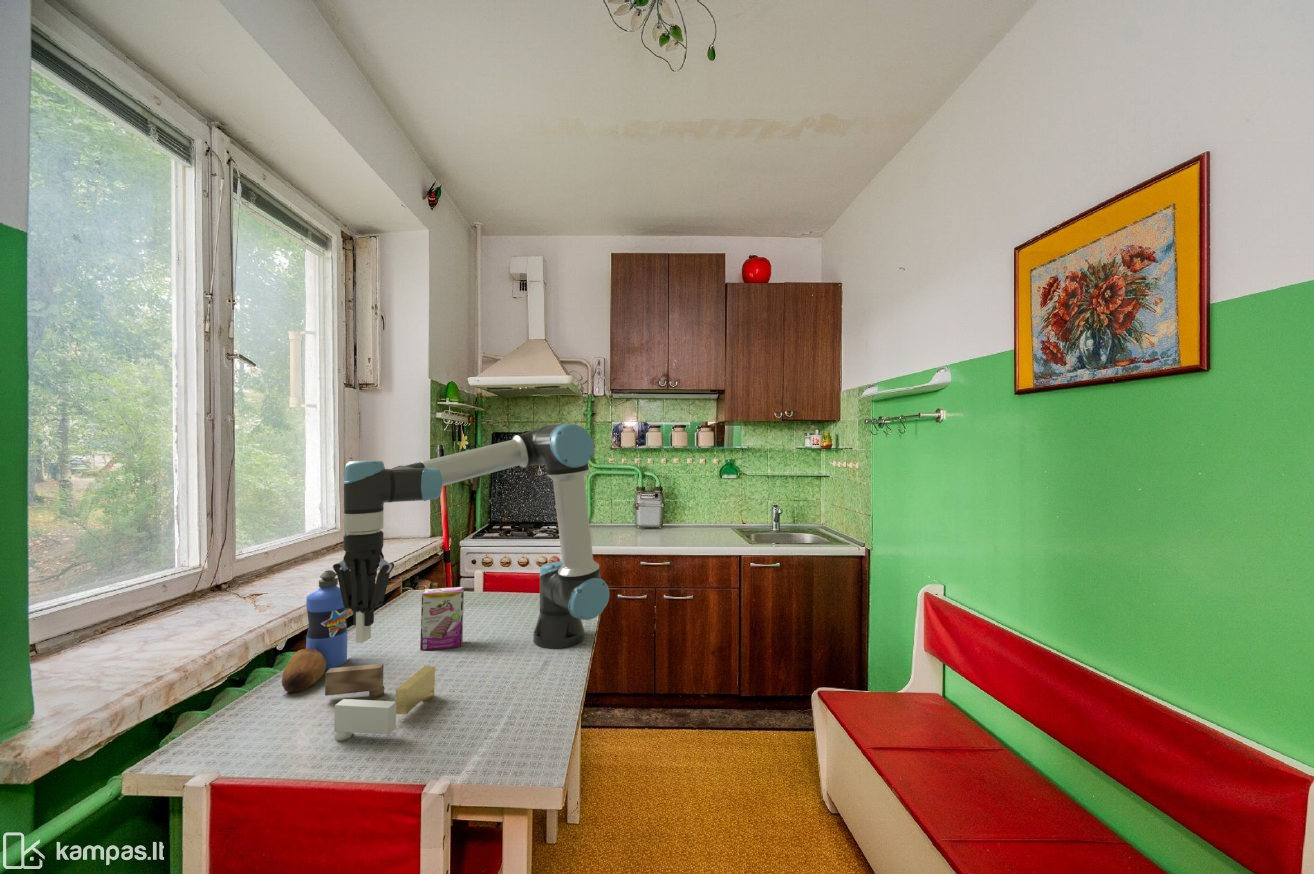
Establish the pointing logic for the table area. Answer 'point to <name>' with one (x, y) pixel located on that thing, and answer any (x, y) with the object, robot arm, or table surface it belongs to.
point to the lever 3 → (415, 690)
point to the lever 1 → (355, 680)
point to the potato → (303, 670)
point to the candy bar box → (442, 618)
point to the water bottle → (327, 621)
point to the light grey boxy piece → (363, 717)
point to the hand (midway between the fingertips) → (363, 640)
